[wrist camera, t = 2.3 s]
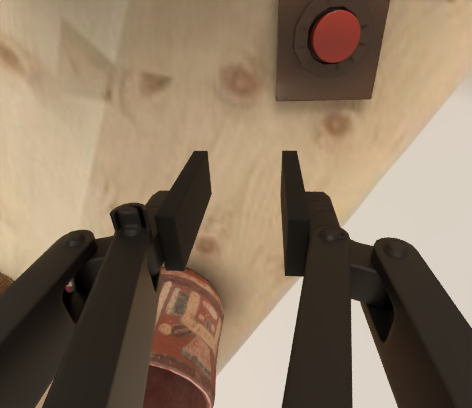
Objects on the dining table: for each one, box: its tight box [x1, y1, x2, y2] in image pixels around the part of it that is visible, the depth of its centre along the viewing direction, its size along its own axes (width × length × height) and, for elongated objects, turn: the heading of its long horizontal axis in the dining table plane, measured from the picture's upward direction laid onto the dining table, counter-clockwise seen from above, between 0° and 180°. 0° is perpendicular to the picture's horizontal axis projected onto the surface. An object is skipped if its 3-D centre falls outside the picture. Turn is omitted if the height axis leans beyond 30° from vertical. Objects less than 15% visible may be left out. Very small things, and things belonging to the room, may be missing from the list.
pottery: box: [143, 267, 224, 408], centre depth 45 cm, size 18×18×18 cm
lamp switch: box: [310, 10, 361, 63], centre depth 26 cm, size 4×4×2 cm
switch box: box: [276, 0, 390, 101], centre depth 28 cm, size 12×10×4 cm
